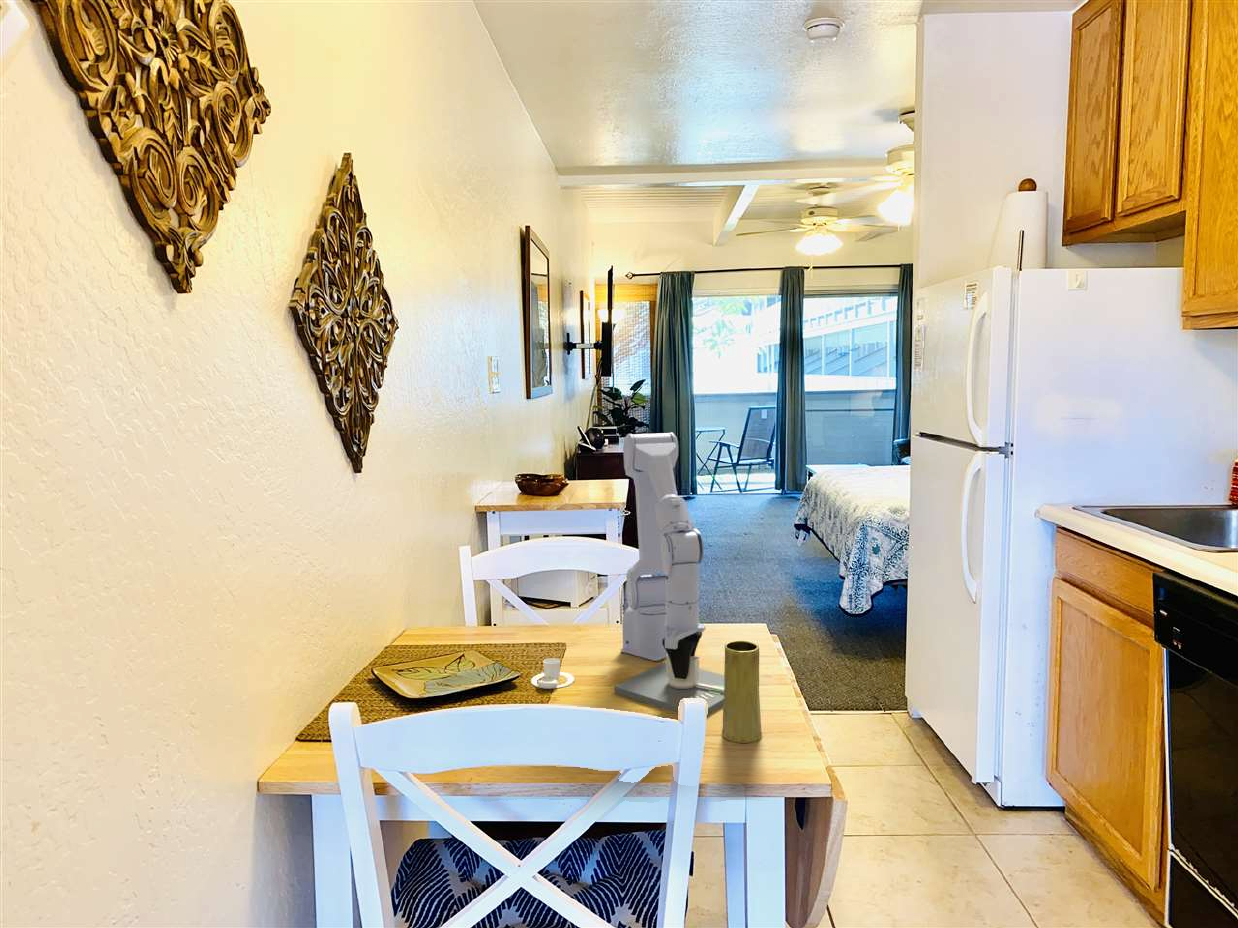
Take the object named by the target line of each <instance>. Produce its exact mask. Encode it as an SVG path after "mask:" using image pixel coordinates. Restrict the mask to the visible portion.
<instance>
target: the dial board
mask: <svg viewBox="0 0 1238 928" xmlns="http://www.w3.org/2000/svg"><path fill="white" fill-rule="evenodd" d="M697 683H701V684H706V685H711V686H716V687H721V688H724V674H721V673H717V672H713V671H711V670H710V671H709V670H706V669H703V668H699V680H698V681H697ZM613 688H614V689H613V690H614V693H615V694H618V695H620V696H623V697H627V698H630V699H631V700H636V701H638V702H642V703H644V704H648V705H650V706H653V707H657V708H660V709H663V710H665V711H666V710H667V711H669V712H671V713H675V714H678V706H679V702H680V700H681V699H683V698H703V699H705V700H706V701H707V704H708V715H707V716H709V715H711V714H712V713H714V712H716V711H718V710H719V709H720V708H723V703H724V692H721V691H716V690H711V689H706V688H701V687H696V686H695V687H693V688H690V689H677V688H673V687H671V686H670V685H669V682H668V677H666V661H664V662H662V663H660V664H657V665H655V666H654V667H651V668H649V669H648V670H645V671H643V672H641V673H639V674H637V675H635V676H633V677H631V678H628V679H626V680H624V681H622V682H620V683H618V684H616V685H614V687H613Z"/></svg>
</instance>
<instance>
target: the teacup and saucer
mask: <svg viewBox="0 0 1238 928" xmlns="http://www.w3.org/2000/svg"><path fill="white" fill-rule="evenodd" d="M542 663H543V665H542V667H543V672H541V673H538V674H535V675H534V676H533V677H531V679H530V683H531V685H533V686H534V687H537V688H540V689H545V690H551V689H552V690H553V689H555V690H556V689H560V688H565V687H567V686H570V685H571V684H573V683H574V681H575V677H574V675H573V674H571V673H568V672H566V671H561V660H560V658H557V657H549V658H545V659H543V662H542ZM560 676H563V677H565V678H566V679H567V681H566V682H565V683H562V684H560V685H559V678H560ZM543 677H544V678H543ZM539 679H540V680H539ZM537 680H538V684H537Z"/></svg>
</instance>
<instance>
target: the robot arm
mask: <svg viewBox="0 0 1238 928" xmlns="http://www.w3.org/2000/svg"><path fill="white" fill-rule="evenodd" d="M622 448H623V449H622V451H623V468H624V471H625V476H628V477H630V478H632V480H633V483H634V487H635V505H636V506H635V509H636V523H637V539H638V554H639V555H638V558H639V559H638V560H637V562H635V563H634V564H633V565H632V566H631V567H629V568H628V570H627V571H626V572H627V573H626V583H625V598H626V602H627V605H628V607H627V608H626V609H625V611H624V613H623V616H622V622H621V623H622V647H621V648H620V649H619V651H620V652H621V653H622V652H623V653H625V654H629V655H632V656H637V657H639V658H643V659H646V660H650V661H653V662H659V661H661V660H662V659H666V655H667V654H668V656H669V658H670V662H671V666H672V670H673V674H674V677H675V678H679V679H686V678H687V675H688V671H689V662H690V657H691V656H695V657H696V652H697V651H696V650H697V648H698V645H699V642H700V640H701V638H702V636H703V632H704V631H705V630H706V625H705V624H701V623H700V619H699V618H700V617H699V615H700V613H699V611H700V610H699V608H700V607H699V605H700V603H699V601H700V600H699V597H700V595H699V586H700V585H699V579H700V578H699V575H700V574H699V564H702V562H703V560H704V552H705V551H704V549H705V548H704V542H703V541H704V540H703V537H702V534H701V532H700V531H699V529H697V526H696V525H693V522H692V521H691V520H692V519H691V517H690V513H689V510H688V509H689V508H688V506H687V503H686V500H685V499H684V498H683V497H682V496H679V495H678V491H677V485H676V480H675V473H674V468H675V467H676V463H677V461H678V460H677V459H678V458H679V440H678V438H677V436H676V435H675V433H674V432H672V431H669V432H663V433H662V432H660V433H636V434H635V433H633V434H632V433H628V434H626V436H625V437H624V440H623V447H622ZM650 575H651V576H650ZM652 575H654V576H652Z"/></svg>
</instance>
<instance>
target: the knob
mask: <svg viewBox="0 0 1238 928" xmlns="http://www.w3.org/2000/svg"><path fill="white" fill-rule="evenodd" d="M665 659H666V661H665V662H666V677H668V682H669V685H670V686H671V687H673V688H677V689H690V688H693V687H695V686H696V687H701V688H706V689H711V690H716V691H721V692H724V688H721V687H716V686H711V685H706V684H701V683H697V681H698V680H699V669H700V657H699V656H696V655H695V656H691V657H690V662H689V671H688V675H687V678H686V679H679V678H675V677H674V674H673V670H672V666H671V662H670V658H669V656H668V654H667V655H666V657H665Z"/></svg>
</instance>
